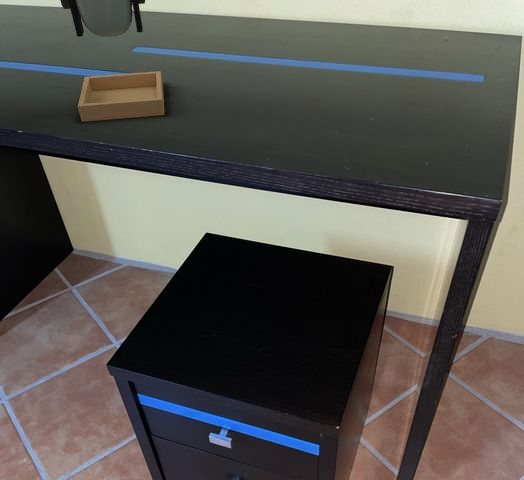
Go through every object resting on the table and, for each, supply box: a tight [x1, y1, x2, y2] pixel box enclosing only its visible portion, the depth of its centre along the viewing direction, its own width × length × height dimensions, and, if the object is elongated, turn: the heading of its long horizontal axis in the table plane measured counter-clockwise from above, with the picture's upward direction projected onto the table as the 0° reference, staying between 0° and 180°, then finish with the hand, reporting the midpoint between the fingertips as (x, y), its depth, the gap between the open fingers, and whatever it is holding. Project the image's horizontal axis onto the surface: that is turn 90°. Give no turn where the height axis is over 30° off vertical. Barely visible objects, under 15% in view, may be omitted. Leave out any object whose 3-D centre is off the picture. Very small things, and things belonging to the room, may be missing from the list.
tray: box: [77, 71, 166, 122], centre depth 84 cm, size 13×13×3 cm
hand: (110, 31), depth 77 cm, fingers closed on cup, 8 cm apart
